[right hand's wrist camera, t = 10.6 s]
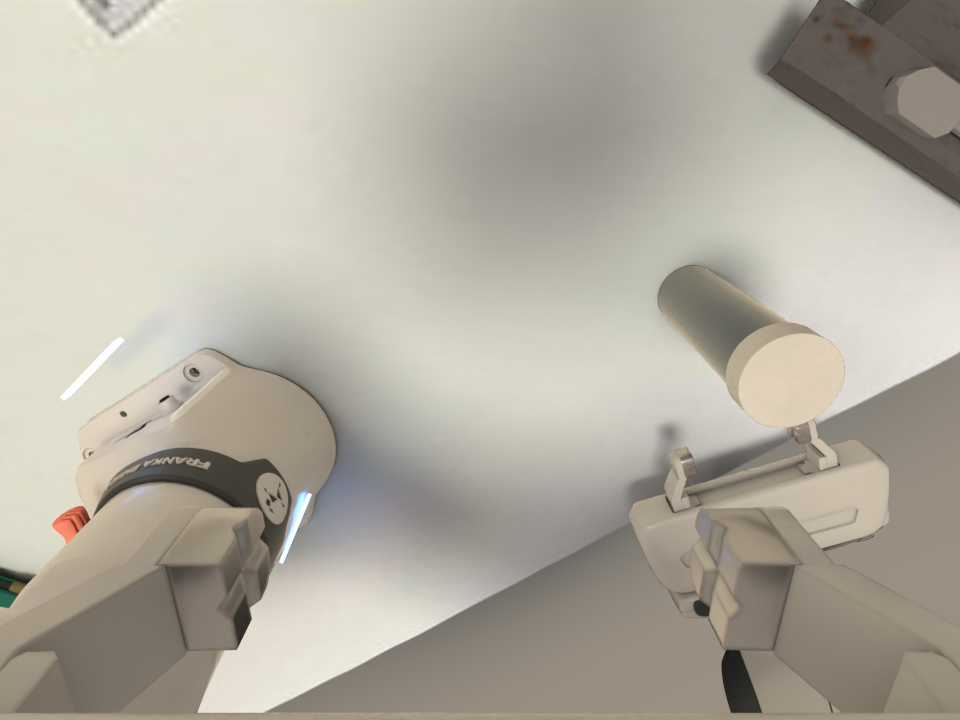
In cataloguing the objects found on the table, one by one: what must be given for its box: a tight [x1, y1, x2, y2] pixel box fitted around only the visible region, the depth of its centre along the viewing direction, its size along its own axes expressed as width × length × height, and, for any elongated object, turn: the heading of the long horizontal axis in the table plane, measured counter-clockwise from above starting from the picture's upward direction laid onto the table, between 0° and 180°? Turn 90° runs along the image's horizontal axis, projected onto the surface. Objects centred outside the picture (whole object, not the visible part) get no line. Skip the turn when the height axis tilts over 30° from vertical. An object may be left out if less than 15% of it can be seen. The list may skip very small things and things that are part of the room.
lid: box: [726, 323, 845, 428], centre depth 32 cm, size 6×6×2 cm
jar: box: [658, 266, 790, 383], centre depth 39 cm, size 5×5×16 cm
